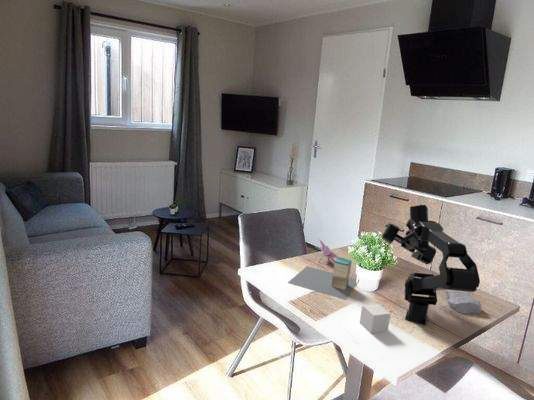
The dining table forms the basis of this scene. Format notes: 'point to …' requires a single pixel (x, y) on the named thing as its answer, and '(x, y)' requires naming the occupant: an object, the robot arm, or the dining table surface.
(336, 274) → the maple block
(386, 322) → the light grey cube
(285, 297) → the dining table surface
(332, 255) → the lily
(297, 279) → the rubber mat
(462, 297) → the stone block
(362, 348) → the dining table surface
